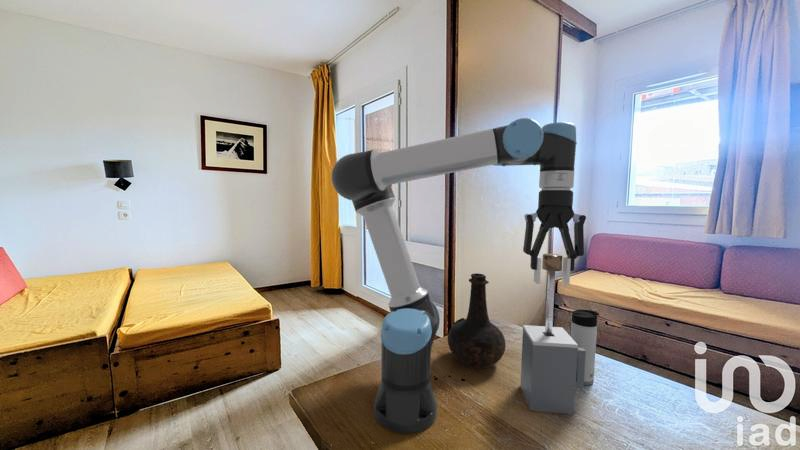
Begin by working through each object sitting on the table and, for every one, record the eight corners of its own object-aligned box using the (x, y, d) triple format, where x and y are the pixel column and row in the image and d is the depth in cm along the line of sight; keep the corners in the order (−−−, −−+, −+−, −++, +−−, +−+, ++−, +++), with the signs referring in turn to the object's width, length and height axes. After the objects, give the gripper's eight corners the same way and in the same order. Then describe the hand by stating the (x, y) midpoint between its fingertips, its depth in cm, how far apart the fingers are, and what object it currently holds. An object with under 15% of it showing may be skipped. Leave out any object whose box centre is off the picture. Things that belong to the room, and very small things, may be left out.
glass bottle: (470, 342, 113) (473, 265, 110) (516, 363, 99) (520, 275, 97) (435, 358, 102) (436, 272, 99) (481, 383, 88) (484, 285, 85)
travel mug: (598, 387, 87) (603, 316, 85) (572, 384, 88) (576, 314, 86) (589, 374, 93) (593, 308, 91) (565, 372, 94) (569, 306, 92)
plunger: (541, 350, 78) (545, 256, 76) (536, 342, 83) (540, 253, 81) (560, 351, 78) (565, 257, 76) (554, 343, 82) (558, 253, 80)
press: (530, 410, 77) (533, 341, 76) (520, 385, 87) (523, 325, 86) (590, 415, 75) (594, 345, 74) (573, 390, 85) (576, 328, 84)
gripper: (518, 189, 74) (514, 285, 76) (606, 189, 72) (599, 289, 74) (511, 189, 82) (508, 277, 84) (591, 190, 79) (585, 280, 81)
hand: (551, 282), depth 79 cm, fingers open, 6 cm apart
